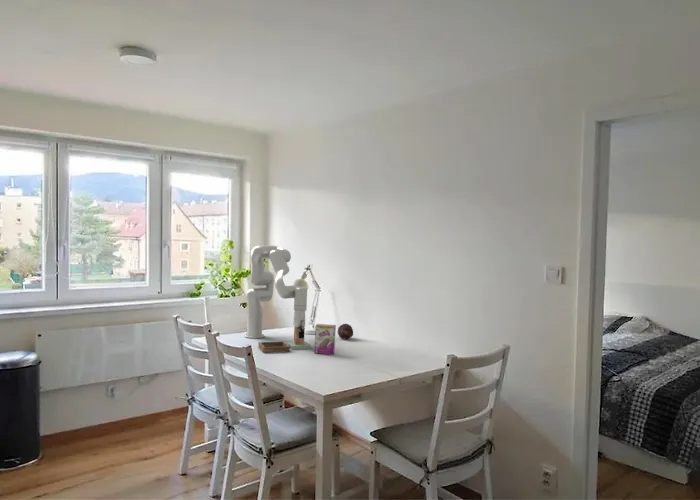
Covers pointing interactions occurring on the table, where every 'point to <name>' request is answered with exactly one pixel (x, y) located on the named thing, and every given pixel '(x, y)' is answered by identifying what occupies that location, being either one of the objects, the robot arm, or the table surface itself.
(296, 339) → the wooden block
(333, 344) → the candy bar box
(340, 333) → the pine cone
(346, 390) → the table surface
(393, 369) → the table surface
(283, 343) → the brown wooden tray
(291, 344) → the green board
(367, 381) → the table surface
